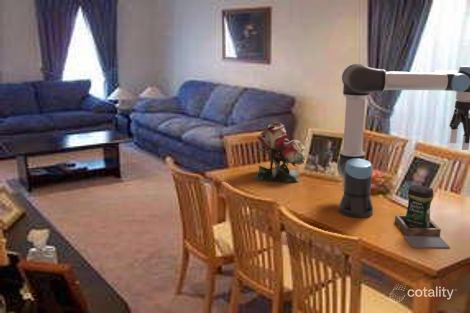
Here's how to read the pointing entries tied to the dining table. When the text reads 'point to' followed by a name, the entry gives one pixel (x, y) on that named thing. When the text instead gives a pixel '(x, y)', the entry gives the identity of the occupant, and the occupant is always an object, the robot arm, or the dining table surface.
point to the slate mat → (426, 242)
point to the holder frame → (430, 231)
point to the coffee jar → (419, 206)
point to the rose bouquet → (280, 155)
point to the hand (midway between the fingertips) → (458, 146)
